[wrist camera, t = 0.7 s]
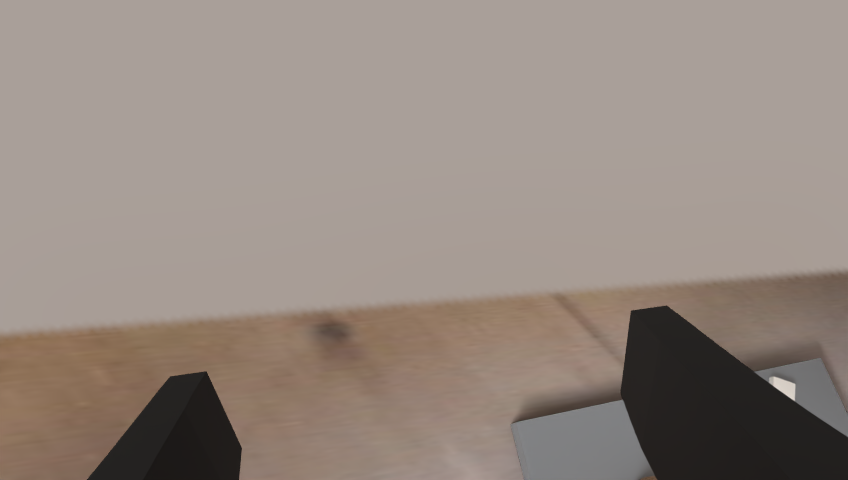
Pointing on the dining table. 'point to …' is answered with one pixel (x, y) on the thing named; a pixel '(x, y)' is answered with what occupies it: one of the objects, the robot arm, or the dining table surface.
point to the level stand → (617, 442)
